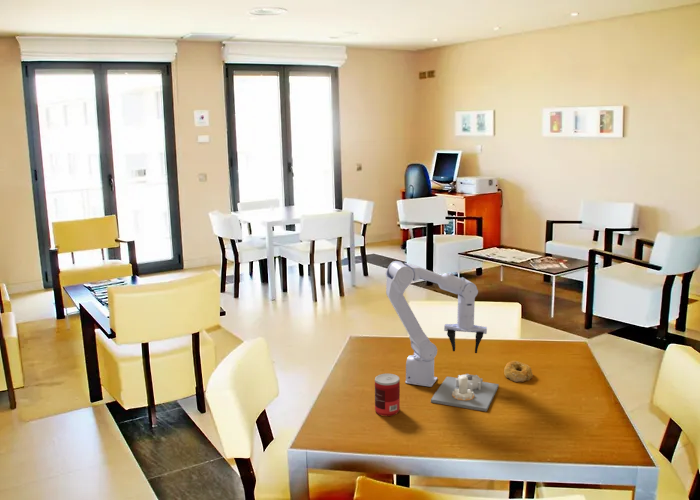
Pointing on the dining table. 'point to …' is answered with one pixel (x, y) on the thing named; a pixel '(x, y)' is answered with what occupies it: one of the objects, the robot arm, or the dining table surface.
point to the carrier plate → (480, 389)
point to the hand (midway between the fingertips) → (464, 351)
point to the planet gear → (463, 389)
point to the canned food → (387, 394)
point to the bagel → (517, 371)
